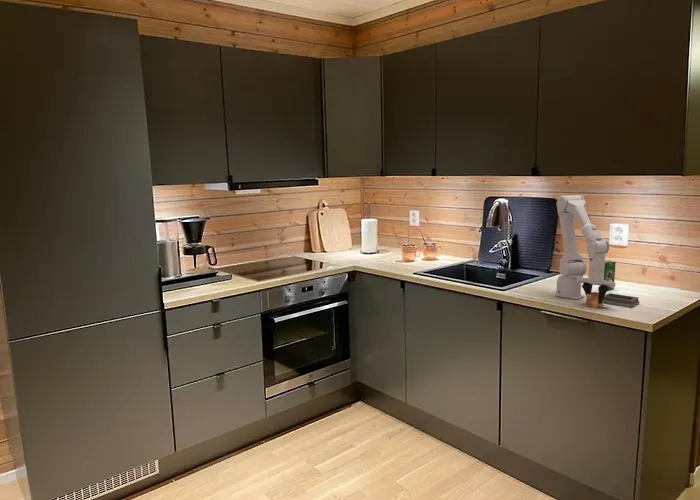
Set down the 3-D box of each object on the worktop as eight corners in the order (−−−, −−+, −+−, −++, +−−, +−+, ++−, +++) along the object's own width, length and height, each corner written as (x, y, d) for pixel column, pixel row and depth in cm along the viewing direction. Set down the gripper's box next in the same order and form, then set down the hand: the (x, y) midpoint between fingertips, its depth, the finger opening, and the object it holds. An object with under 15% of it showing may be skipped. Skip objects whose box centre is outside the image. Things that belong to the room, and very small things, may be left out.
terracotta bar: (585, 306, 214) (586, 294, 214) (592, 303, 219) (593, 291, 218) (595, 308, 212) (596, 296, 211) (602, 304, 216) (603, 293, 215)
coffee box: (608, 287, 245) (610, 260, 243) (614, 289, 242) (616, 260, 240) (598, 290, 240) (600, 262, 238) (604, 291, 238) (606, 263, 236)
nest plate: (600, 302, 219) (600, 296, 219) (608, 298, 225) (609, 292, 225) (631, 308, 211) (631, 301, 210) (639, 303, 217) (639, 297, 216)
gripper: (574, 268, 215) (572, 301, 218) (611, 273, 205) (609, 307, 207) (581, 266, 220) (579, 297, 222) (618, 270, 210) (616, 303, 212)
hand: (594, 302), depth 215 cm, fingers closed on terracotta bar, 4 cm apart
